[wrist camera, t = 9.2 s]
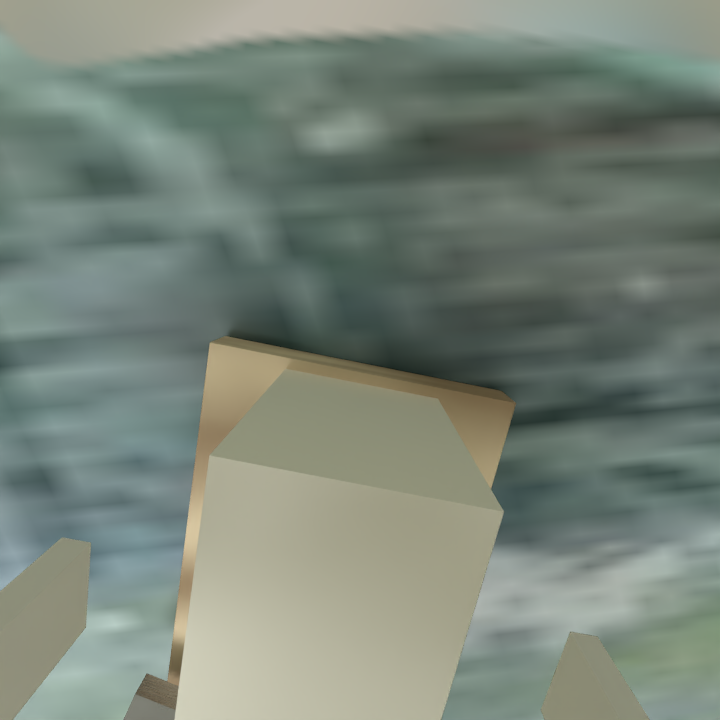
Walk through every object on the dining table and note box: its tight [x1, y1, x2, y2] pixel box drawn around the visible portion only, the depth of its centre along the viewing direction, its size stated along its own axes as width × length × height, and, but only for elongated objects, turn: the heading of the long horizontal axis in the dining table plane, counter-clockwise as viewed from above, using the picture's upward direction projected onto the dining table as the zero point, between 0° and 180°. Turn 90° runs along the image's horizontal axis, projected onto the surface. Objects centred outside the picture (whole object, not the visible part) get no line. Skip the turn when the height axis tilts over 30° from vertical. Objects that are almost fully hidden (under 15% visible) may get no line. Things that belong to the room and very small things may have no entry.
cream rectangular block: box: [174, 369, 504, 720], centre depth 15 cm, size 13×7×9 cm, turn 169°
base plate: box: [167, 336, 516, 686], centre depth 22 cm, size 26×14×2 cm, turn 169°
